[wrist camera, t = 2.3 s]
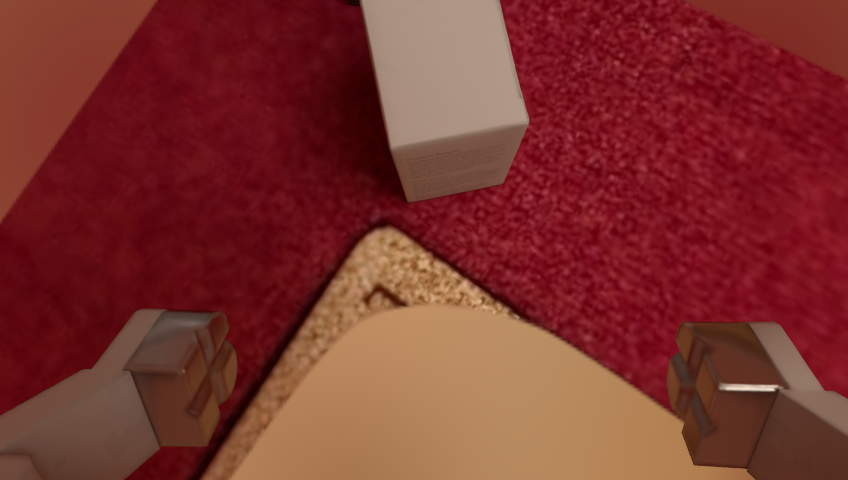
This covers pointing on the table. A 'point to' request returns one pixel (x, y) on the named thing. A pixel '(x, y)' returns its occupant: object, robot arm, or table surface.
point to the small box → (445, 92)
